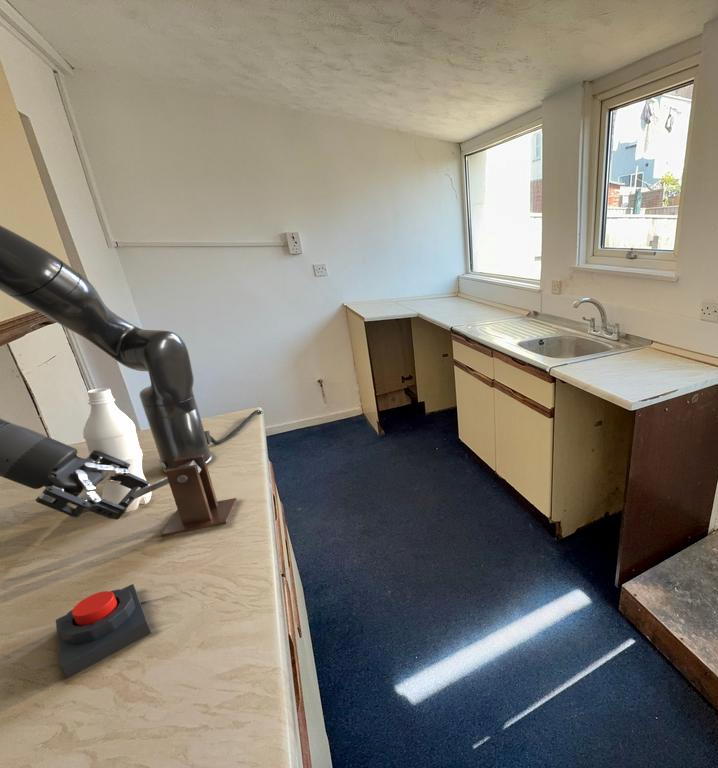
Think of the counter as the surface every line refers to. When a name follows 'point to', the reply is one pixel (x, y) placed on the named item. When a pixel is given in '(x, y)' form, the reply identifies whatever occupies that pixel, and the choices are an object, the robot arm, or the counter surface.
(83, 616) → the button
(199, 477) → the bracket
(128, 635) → the control block
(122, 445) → the water bottle
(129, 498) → the lever
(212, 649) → the counter surface
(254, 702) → the counter surface
